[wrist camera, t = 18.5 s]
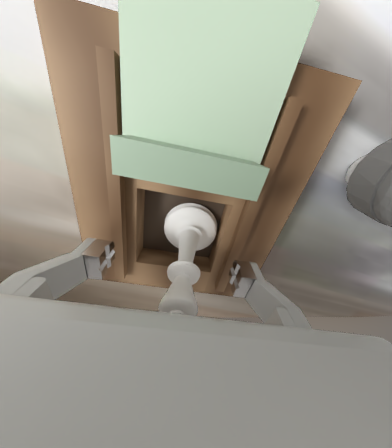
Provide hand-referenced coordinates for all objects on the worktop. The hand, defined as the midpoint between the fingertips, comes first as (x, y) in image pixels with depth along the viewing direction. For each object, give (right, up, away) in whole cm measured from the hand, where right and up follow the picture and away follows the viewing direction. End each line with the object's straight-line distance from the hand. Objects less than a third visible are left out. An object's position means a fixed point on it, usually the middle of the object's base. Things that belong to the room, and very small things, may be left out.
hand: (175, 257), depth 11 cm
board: (+1, +5, +3) cm, 6 cm away
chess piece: (+1, +2, +4) cm, 5 cm away
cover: (+2, +9, -2) cm, 9 cm away
